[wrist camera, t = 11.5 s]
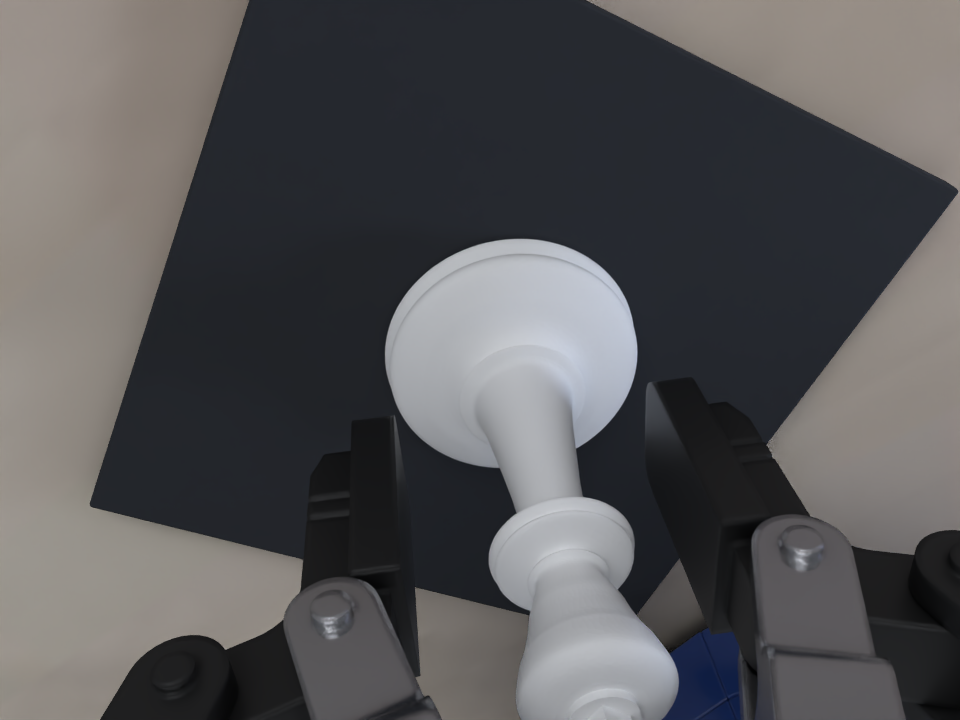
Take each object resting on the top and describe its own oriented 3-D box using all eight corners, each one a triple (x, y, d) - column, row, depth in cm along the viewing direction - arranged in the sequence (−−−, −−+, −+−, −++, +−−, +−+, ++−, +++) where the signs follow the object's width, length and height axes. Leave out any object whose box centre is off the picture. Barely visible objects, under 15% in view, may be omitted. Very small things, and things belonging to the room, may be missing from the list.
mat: (946, 181, 17) (960, 191, 17) (615, 623, 23) (619, 638, 22) (297, -146, 13) (294, -145, 13) (94, 491, 19) (87, 507, 18)
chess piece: (337, 388, 17) (309, 933, 9) (479, 188, 16) (609, 646, 7) (535, 483, 19) (662, 1007, 11) (683, 315, 17) (976, 796, 9)
